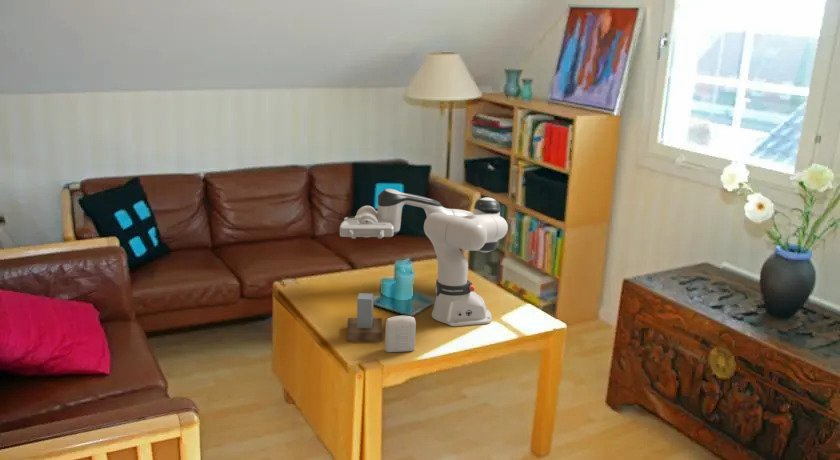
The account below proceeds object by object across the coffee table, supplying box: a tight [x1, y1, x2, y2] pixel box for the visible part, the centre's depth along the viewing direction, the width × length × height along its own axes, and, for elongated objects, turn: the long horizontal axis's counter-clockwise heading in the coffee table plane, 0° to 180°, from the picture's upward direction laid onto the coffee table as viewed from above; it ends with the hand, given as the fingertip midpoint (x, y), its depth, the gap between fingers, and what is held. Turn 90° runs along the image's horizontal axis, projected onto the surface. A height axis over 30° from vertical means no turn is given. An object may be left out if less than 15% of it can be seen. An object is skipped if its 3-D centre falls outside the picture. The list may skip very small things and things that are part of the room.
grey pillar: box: [356, 292, 374, 329], centre depth 253 cm, size 5×5×11 cm
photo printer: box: [384, 315, 417, 353], centre depth 244 cm, size 10×4×12 cm, turn 103°
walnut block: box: [346, 317, 383, 343], centre depth 256 cm, size 12×12×4 cm
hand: (366, 236), depth 266 cm, fingers open, 8 cm apart
